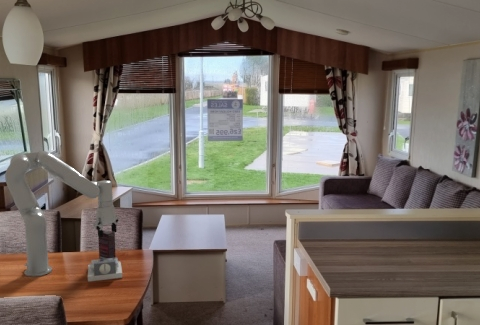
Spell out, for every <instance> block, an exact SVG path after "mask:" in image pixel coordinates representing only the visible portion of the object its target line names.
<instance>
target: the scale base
mask: <svg viewBox="0 0 480 325" xmlns="http://www.w3.org/2000/svg"><path fill="white" fill-rule="evenodd" d="M122 278H123V268H122V263H121V260H120V261H119V260H118V267H116V263H115V260H113V261H104V262H94V270H91V263H90V264H88V265H87V282H95V281H103V280H106V281H107V280H113V279H122Z"/></svg>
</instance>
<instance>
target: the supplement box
mask: <svg viewBox="0 0 480 325" xmlns="http://www.w3.org/2000/svg"><path fill="white" fill-rule="evenodd" d="M102 230H103V229H102ZM97 237H98V236H97ZM98 257H99V258H98V259H107V258H116V232H112V230H111V231H110V230H106V229H104V230H103V237H98Z"/></svg>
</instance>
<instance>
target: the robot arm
mask: <svg viewBox="0 0 480 325" xmlns="http://www.w3.org/2000/svg"><path fill="white" fill-rule="evenodd" d="M34 169H42V170H43V171H45V172H46V173H48V174H50V175H51V176H53V177H54V178H56V179H58V180H59V181H60V182H62V183H64V184H66V185H67V186H69V187H71V188H72V189H74V190H76V191H77V192H78V193H80V194H82V195H83V196H85V197H87V198H88V199H96V198H97V202H98V206H97V208H96V215H95V216H96V220H95V221H94V222H93V226H94V228H95V229H96V230H97V237H103V227H104V226H108V225H111V228H110V230H111V232H115V233H117V231H118V230H117V225H118V223H119V218H120V215H118V214H116V209H115V205H114V199H113V183H112V181H111V180H107V179H106V180H99V181H92V180H90V179H88V178H86V177H85V176H83V175H82V174H80V173H79V172H78V171H77V170H76V169H75V168H73V166H70V165H69V164H68V163H65V161H63V160H61V159H60V158H58V157H56V156H55V155H53V154H52V153H51V152H49V151H46V150H43V151H33V152H24V153H17V154H15V155H13V156H12V157H11V159H10V163H9V165H8V167H7V168H6V171H5V177H4V178H5V183H6V186H7V188H8V190H9V192H10V195H11V197H12V199H13V202H14V204H15V206H16V208H17V209H18V213H20V216H21V218H22V220H23V223H24V229H25V233H24V234H25V246H26V260H27V262H26V263H24V266H26V269H25V270H24V276H27V277H32V278H33V277H41V276H45V275H47V274H51V272H52V271H53V268H52V266H50V265H49V253H48V252H49V251H48V237H47V236H48V234H47V230H48V229H47V224H48V223H47V222H48V221H47V218H46V215H45V214H44V212H43V210H42V209H41V206H40V204H39V202H38V200H37V198H36V194H34V192H33V191H32V190H31V188H30V186H29V182H28V181H27V179H26V174H27V172H29V170H34Z"/></svg>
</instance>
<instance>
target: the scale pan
mask: <svg viewBox="0 0 480 325" xmlns="http://www.w3.org/2000/svg"><path fill="white" fill-rule="evenodd" d="M113 260H115V263H116V267H118V262H119V260H118V257H116V258H107V259H99V258H98V259H90V264H91V270H94V262H104V261H113Z"/></svg>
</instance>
